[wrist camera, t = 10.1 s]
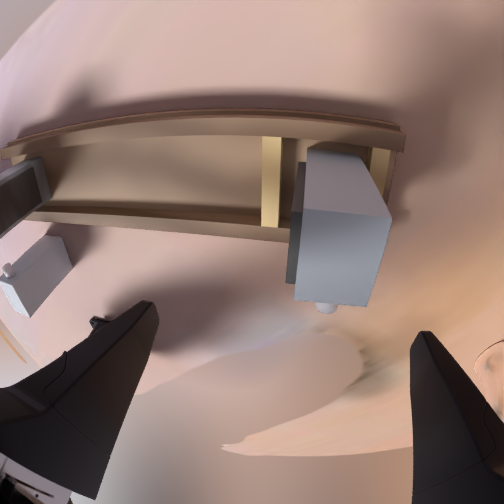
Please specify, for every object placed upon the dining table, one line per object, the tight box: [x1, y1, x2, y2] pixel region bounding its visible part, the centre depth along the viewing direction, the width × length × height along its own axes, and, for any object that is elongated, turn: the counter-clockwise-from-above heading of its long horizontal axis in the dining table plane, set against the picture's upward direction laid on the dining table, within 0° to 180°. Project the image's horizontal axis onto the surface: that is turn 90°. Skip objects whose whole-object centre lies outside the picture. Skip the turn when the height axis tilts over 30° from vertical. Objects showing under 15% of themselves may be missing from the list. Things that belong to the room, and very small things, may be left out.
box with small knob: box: [0, 235, 73, 318], centre depth 23 cm, size 3×5×8 cm, turn 0°
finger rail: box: [0, 108, 406, 243], centre depth 16 cm, size 8×32×9 cm, turn 90°
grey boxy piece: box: [286, 148, 392, 314], centre depth 14 cm, size 3×5×8 cm, turn 0°
